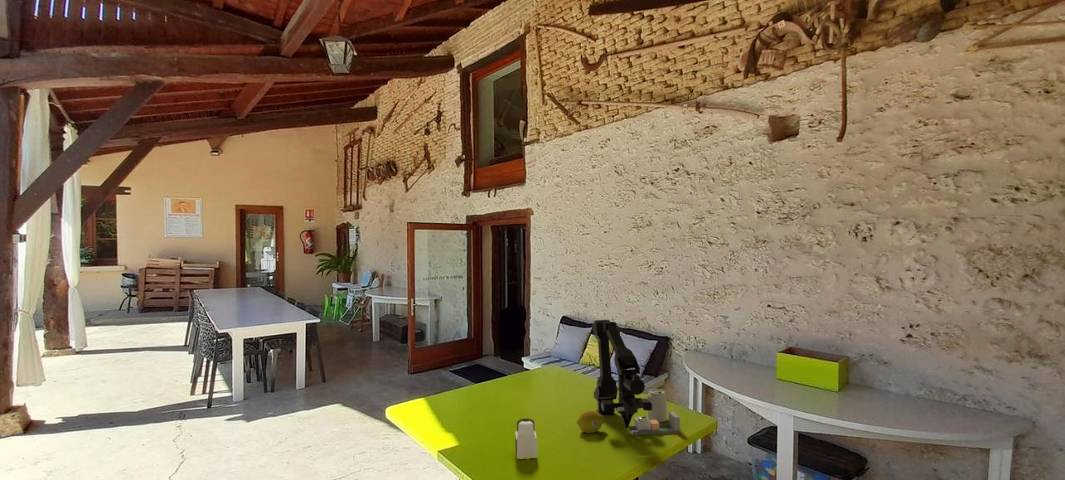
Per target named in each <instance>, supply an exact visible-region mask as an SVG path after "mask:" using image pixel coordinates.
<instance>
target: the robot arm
mask: <svg viewBox="0 0 1065 480" xmlns="http://www.w3.org/2000/svg"><path fill="white" fill-rule="evenodd" d="M591 329H592V333H593V337H595V339H596V340H597V345H598V346H597V347H598V362H599V365H598V366H599V377H598V379H597V381H596V387H595V389H594V391H593V398H594V399H595V400H596V401H597V403H596V405H597V407H596V408H597V409H596V412H597V413H599V414H601V415H603V416H604V417H605V416H615V411H617V413H618V414H620V416H621V418H622V421H623V424H624V427H625V429H629V426H630V424H631V420H632V418H633V416H634V415H635V414H638V412H639V410H638V409H643V410H644V411H646V412H647V411H648V410H652V403H651V402H650V401H649V400H648V398H642V397H636V396H639V395H641V394H643V393H644V391H645V388H646V386H645V382H644V381H643V380H642V379H641V378H640V375H639V374H641V371H640V370H641V367H640V365H639V363H638V362H639V361H638V360H637V357H636V356H635V354H634V353H633V350H631V349H629V348H628V347H626V344H625V341H624V340H623V338H622V336H621V333H620V331H619V329H618V325H617V322H616V321H611V320H610V319H595V320H594V321H593V323H591ZM610 345H611V348H612V349H613V352H614V357H613V361H614V367H616V372H617V373H618V375H617V377H618V381H617V380H615V379H614V377H613V376H612V367H611V365H612V363H611V350H610ZM617 383H618V386H617ZM617 397H618V398H617ZM614 400H618V402H614Z"/></svg>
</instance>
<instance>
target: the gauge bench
mask: <svg viewBox="0 0 1065 480" xmlns="http://www.w3.org/2000/svg"><path fill="white" fill-rule="evenodd" d="M680 419H681V418H680V416H679V415H678V414H677V413H676V412H675V411H673V410H671V411H668V423H662V424H661V423H659V426H660V430H651V431H635V429H634V424H633V425H629V427H628V430H629V431H630V433H631V434H632V436H645V435H646V436H648V435H667V434H681V428H680V427H681V422H680V421H681V420H680Z"/></svg>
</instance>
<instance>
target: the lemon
mask: <svg viewBox="0 0 1065 480" xmlns="http://www.w3.org/2000/svg"><path fill="white" fill-rule="evenodd" d="M604 423H605V416H603V415H601V414H599V413H598V412H597V411H594V410H586V411H583V412H581V414H579V417H578V420H577V421H576V424H577V425H578V427H579V428H580V430H581V431H582V432H584V433H586V434H593V433H596V432H598V431H599V430H600V429H601V428H602V426H603V425H604Z"/></svg>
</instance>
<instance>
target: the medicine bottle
mask: <svg viewBox="0 0 1065 480" xmlns="http://www.w3.org/2000/svg"><path fill="white" fill-rule="evenodd" d="M514 435H515V436H514V437H515V438H514V441H515V442H514V443H515V445H514V446H515V449H514V450H515V457H516V458H528V457H537V458H538V437H537V432H536V429H535V421H534V420H533V419H532V418H521V419H519V420H517V422H516V430H515V432H514ZM516 458H515V459H516Z"/></svg>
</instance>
